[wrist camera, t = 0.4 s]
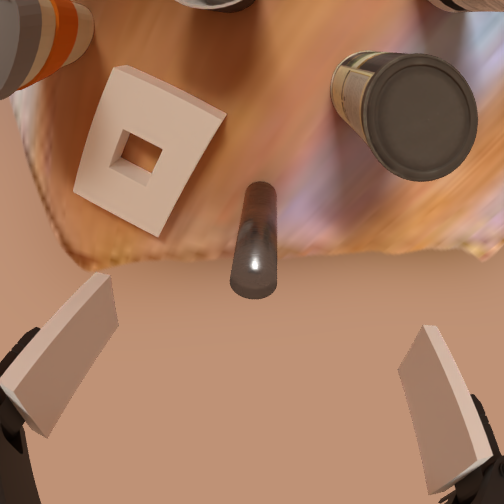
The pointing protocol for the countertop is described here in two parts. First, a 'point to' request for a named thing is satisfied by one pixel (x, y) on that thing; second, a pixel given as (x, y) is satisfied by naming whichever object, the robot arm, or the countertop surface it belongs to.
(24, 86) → the reusable coffee cup
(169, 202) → the block with square hole
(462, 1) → the supplement can
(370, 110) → the coffee can
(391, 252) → the countertop surface
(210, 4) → the coffee mug
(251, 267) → the steel pin
